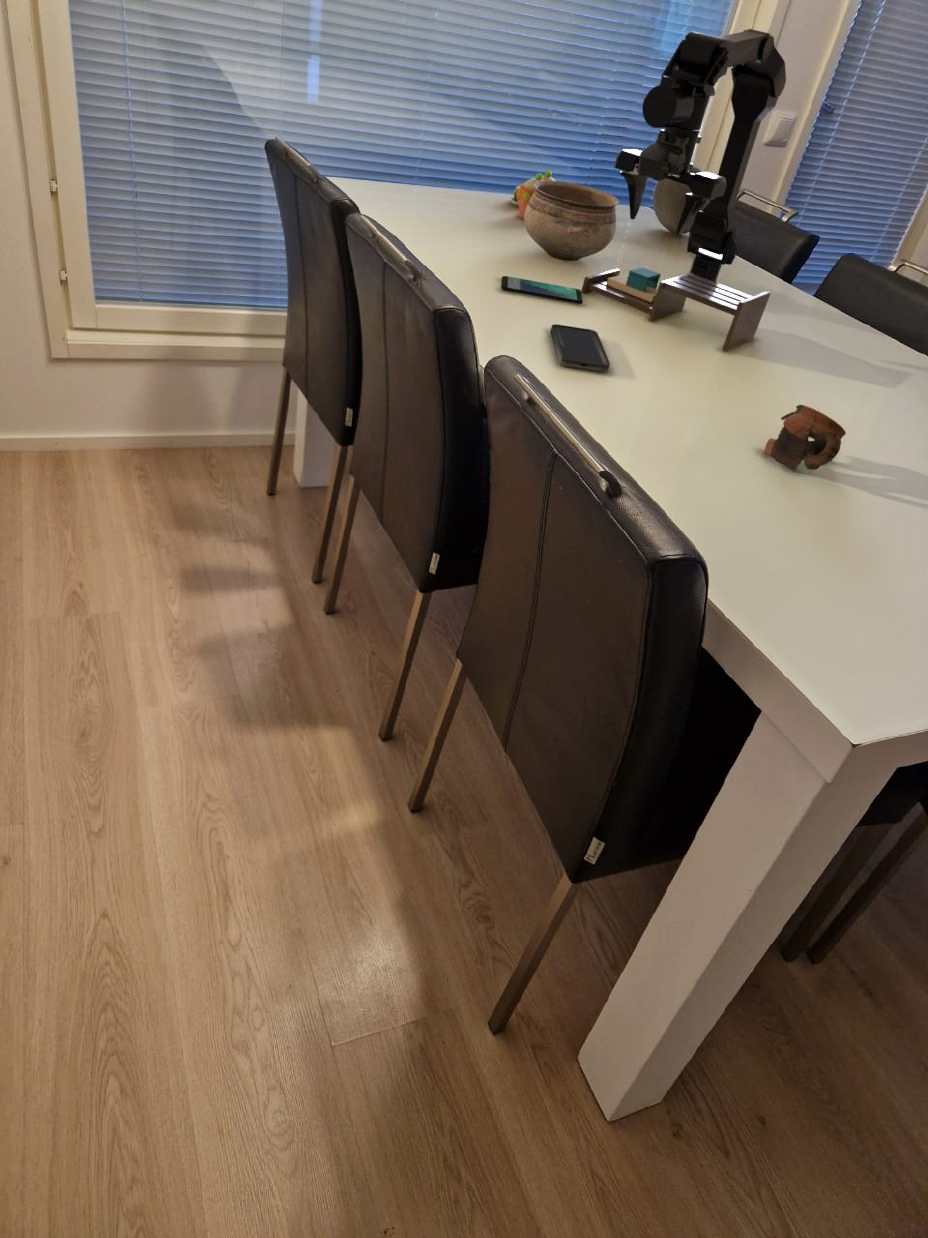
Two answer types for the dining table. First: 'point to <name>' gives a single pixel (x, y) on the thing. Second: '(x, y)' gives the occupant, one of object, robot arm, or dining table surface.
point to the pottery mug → (806, 439)
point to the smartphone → (541, 289)
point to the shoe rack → (696, 289)
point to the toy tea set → (527, 192)
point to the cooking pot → (570, 219)
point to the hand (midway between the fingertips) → (654, 226)
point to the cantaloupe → (672, 202)
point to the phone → (579, 348)
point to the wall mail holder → (637, 283)
